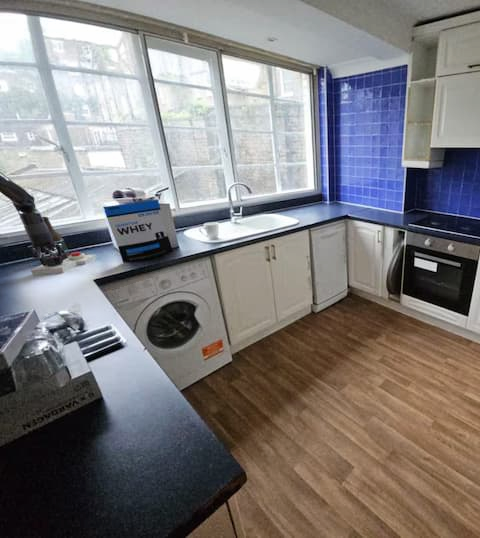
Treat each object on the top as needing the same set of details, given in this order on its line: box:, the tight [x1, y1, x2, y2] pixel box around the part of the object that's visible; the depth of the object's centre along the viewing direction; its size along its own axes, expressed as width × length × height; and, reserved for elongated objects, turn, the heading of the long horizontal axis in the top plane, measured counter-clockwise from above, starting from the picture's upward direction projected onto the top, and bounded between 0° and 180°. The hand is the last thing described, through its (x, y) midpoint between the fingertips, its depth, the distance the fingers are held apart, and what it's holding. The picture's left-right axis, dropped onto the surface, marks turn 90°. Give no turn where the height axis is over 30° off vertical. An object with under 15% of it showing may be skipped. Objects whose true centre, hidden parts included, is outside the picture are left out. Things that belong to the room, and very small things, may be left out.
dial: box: [44, 256, 59, 267], centre depth 148 cm, size 4×4×4 cm
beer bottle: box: [42, 216, 71, 260], centre depth 160 cm, size 8×8×24 cm
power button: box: [70, 251, 81, 257], centre depth 158 cm, size 4×4×2 cm
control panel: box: [30, 260, 78, 276], centre depth 149 cm, size 13×10×3 cm
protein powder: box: [102, 199, 173, 264], centre depth 160 cm, size 10×24×30 cm, turn 140°
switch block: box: [63, 252, 98, 266], centre depth 159 cm, size 12×10×4 cm
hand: (53, 264), depth 148 cm, fingers open, 5 cm apart
